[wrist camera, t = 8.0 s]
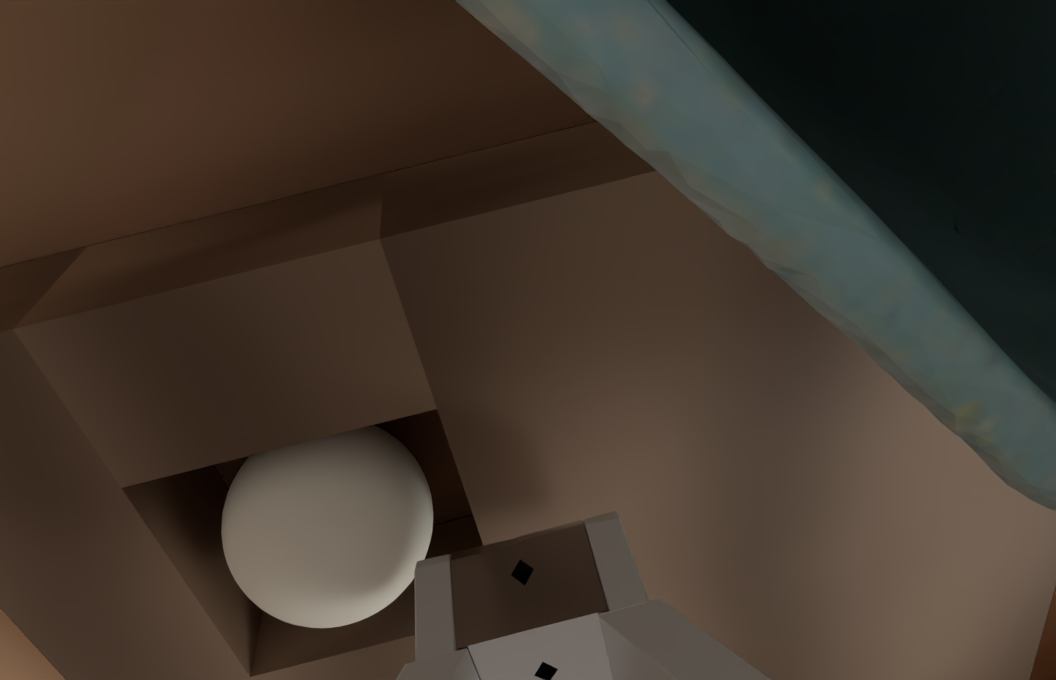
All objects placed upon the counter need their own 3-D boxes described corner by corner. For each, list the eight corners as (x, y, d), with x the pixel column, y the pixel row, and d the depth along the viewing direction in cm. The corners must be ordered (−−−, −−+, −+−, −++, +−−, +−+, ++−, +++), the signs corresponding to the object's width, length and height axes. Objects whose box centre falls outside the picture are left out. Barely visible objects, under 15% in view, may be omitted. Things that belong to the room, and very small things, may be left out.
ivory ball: (373, 353, 13) (424, 461, 10) (426, 488, 15) (481, 611, 12) (183, 428, 12) (183, 566, 10) (262, 561, 14) (281, 710, 12)
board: (1060, 7, 11) (1210, 34, 9) (936, 722, 22) (992, 810, 20) (-89, 289, 11) (-205, 383, 9) (346, 875, 22) (340, 981, 20)
